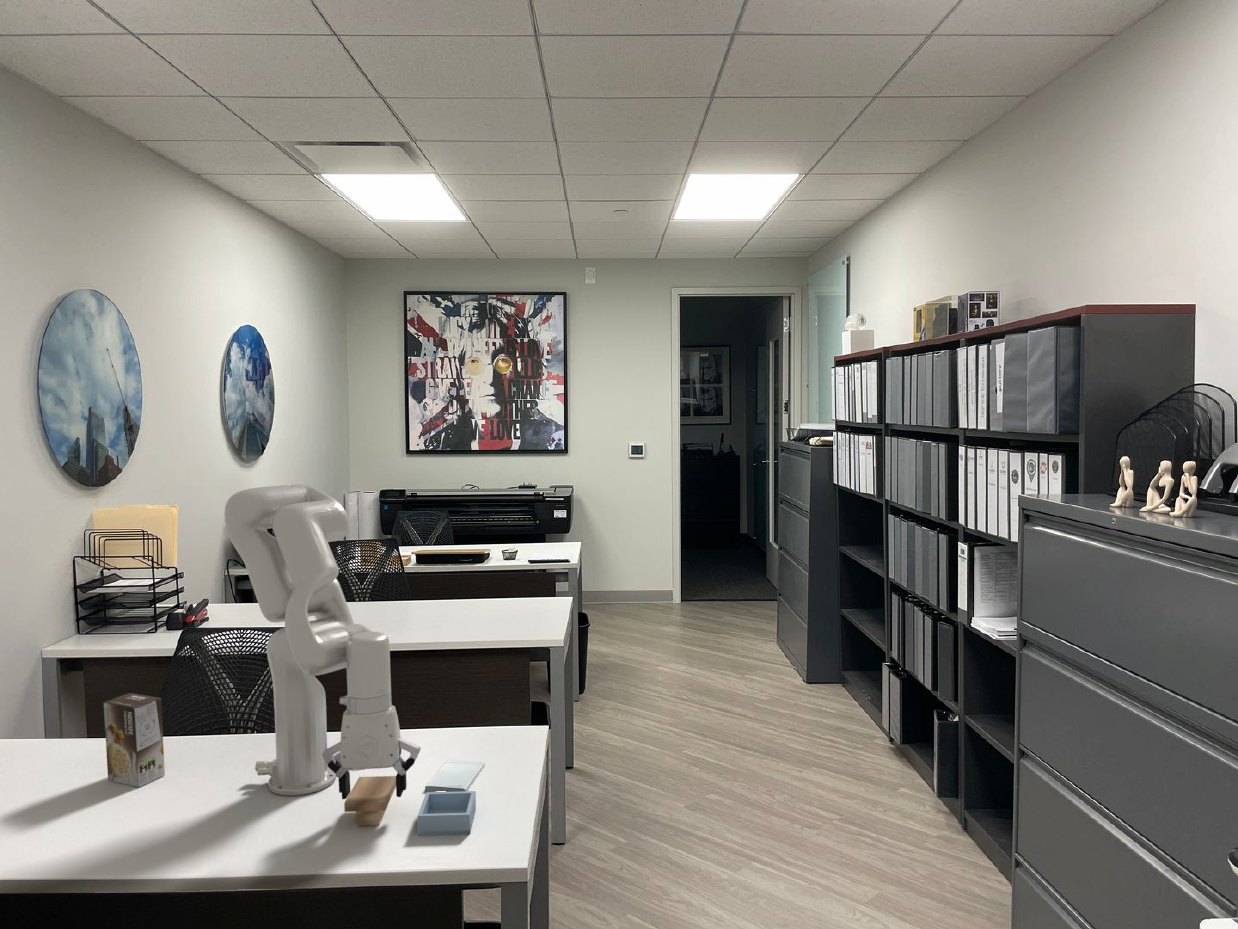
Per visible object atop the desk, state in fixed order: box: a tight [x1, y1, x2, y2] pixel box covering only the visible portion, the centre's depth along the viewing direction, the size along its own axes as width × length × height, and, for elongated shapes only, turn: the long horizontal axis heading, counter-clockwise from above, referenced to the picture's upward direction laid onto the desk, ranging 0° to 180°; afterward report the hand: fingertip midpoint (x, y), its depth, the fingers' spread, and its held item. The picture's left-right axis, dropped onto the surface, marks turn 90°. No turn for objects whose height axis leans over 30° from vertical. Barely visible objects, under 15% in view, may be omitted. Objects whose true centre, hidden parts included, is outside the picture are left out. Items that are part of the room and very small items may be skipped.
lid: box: [343, 775, 396, 813], centre depth 156 cm, size 7×10×2 cm, turn 3°
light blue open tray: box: [416, 790, 477, 836], centre depth 154 cm, size 9×9×4 cm
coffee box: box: [103, 692, 166, 788], centre depth 172 cm, size 9×6×16 cm
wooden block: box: [355, 807, 388, 827], centre depth 156 cm, size 4×7×4 cm, turn 3°
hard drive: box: [424, 759, 485, 792], centre depth 172 cm, size 2×8×12 cm
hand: (373, 795), depth 156 cm, fingers open, 9 cm apart
